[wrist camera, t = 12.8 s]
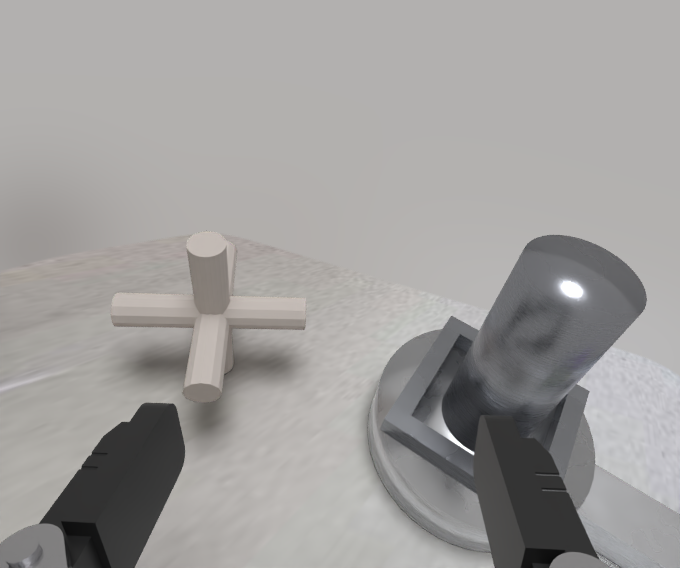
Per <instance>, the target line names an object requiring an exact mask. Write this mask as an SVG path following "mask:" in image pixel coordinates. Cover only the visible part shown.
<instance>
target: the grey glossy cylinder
mask: <svg viewBox="0 0 680 568" xmlns="http://www.w3.org/2000/svg"><path fill="white" fill-rule="evenodd" d="M646 301H647V298H646V292H645V289H644V287H643V284H642V282H641V281H640V279H639V278H638V276H637V275H636V274H635V272H634V271H633V270H632V269H631V268H630V267H629V266H628V265H627V264H625V263H624V262H623V261H622V260H621V259H619V258H618V257H617V256H615V255H614V254H612V253H611V252H609V251H607V250H606V249H604V248H602V247H600V246H598V245H596V244H593V243H591V242H588V241H585V240H582V239H579V238H575V237H570V236H563V235H547V236H542V237H538V238H536V239H534V240H532V241H531V242H529V243H528V244H527V245H526V247H525V248H524V250H523V252H522V254H521V255H520V257H519V259H518V261H517V263H516V264H515V266H514V268H513V270H512V272H511V274H510V276H509V278H508V279H507V281H506V283H505V285H504V286H503V288H502V290H501V292H500V294H499V296H498V297H497V299H496V301H495V303H494V305H493V307H492V309H491V310H490V312H489V314H488V316H487V317H486V319H485V321H484V323H483V325H482V327H481V328H480V330H479V332H478V334H477V336H476V337H475V339H474V341H473V343H472V345H471V347H470V348H469V350H468V352H467V354H466V356H465V358H464V359H463V361H462V363H461V365H460V367H459V368H458V370H457V372H456V374H455V376H454V378H453V379H452V381H451V383H450V385H449V387H448V389H447V390H446V392H445V394H444V396H443V400H442V416H443V419H444V422H445V424H446V426H447V428H448V430H449V431H450V433H451V434H452V435H453V436H454V438H455V439H456V440H457V441H458V442H459V443H461V444H462V445H463V446H465V447H466V448H468V449H469V450H471V451H473V452H475V446H476V439H477V432H478V425H479V419H480V416H481V415H495V416H512V417H513V419H514V421H515V423H516V426H517V428H518V431H519V433H520V436H521V438H527V437H528V436H529V435H530V434H531V433H532V432H533V430H534V429H535V428H536V427H537V426H538V425H539V424H540V423H541V422H542V421H543V420H544V419H545V417H546V416H547V415H548V414H549V413H550V412H551V411H552V410H553V409H554V408H555V407H556V405H557V404H558V403H559V402H560V401H561V400H562V399H563V398H564V397H565V396H566V395H567V394H568V392H569V391H570V390H571V389H572V388H573V387H574V386H575V385H576V384H577V383H578V382H579V380H580V379H581V378H582V377H583V376H584V375H585V374H586V373H587V372H588V371H589V370H590V369H591V367H592V366H593V365H594V364H595V363H596V362H597V361H598V360H599V359H600V358H601V357H602V356H603V354H604V353H605V352H606V351H607V350H608V349H609V348H610V347H611V346H612V345H613V343H614V342H615V341H616V340H617V339H618V338H619V337H620V336H621V335H622V334H623V333H624V332H625V330H626V329H627V328H628V327H629V326H630V325H631V324H632V323H633V322H634V321H635V319H636V318H637V317H638V316H639V315H640V314H641V313H642V312H643V310H644V309H645V306H646Z"/></svg>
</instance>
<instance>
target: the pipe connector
mask: <svg viewBox="0 0 680 568" xmlns="http://www.w3.org/2000/svg"><path fill="white" fill-rule="evenodd" d="M186 247H187V254H188V260H189V267H190V274H191V281H192V287H193V294H194V295H187V294H151V293H115V295H114V297H113V300H112V304H111V319H112V323H113V325H114V326H121V327H178V328H194V329H193V335H192V341H191V347H190V352H189V358H188V364H187V369H186V375H185V381H184V387H183V392H182V394H183V395H184V396H185V397H186V398H187V399H189V400H191V401H194V402H202V403H206V402H213V401H215V400H217V399H219V398H220V396H221V394H222V388H223V378H224V374H226V373H228V372H229V371H230V370H231V369H232V367H233V365H234V356H233V341H232V328H235V329H292V330H305V324H306V298H294V297H258V296H233V287H234V278H235V268H236V259H237V249H236V246H235V245H234V244H233V243H231V242H230V241H227V240H225V238H224V237H223V236H222V235H220V234H218V233H215V232H210V231H204V232H199V233H196V234H194V235H192V236H191V237H190V238H189V239H188V241H187V243H186Z"/></svg>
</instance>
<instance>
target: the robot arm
mask: <svg viewBox="0 0 680 568" xmlns="http://www.w3.org/2000/svg"><path fill="white" fill-rule="evenodd" d="M184 458H185V446H184V441H183V436H182V432H181V427H180V422H179V418H178V413H177V409H176V406H175V405H174V404H167V403H144V404H142V405H141V406H140V408H139V409H138V411H137V412H136V413H135V415H134V416H133V418H132V419H131V421H130V422H121V423H120V424H119V425H117V426H116V427H115V428H114V429H112V430H111V431H110V432H108V433H107V434H106V435H104V436H103V438H102V439H101V441H100V442H99V443H98V445H97V446H96V447H95V449H94V450H93V451H92V455H91V456H89V457H88V458H87V459H86V461H85V462H84V464H83V465H82V468H81V470H78V472H77V473H76V474H75V476H74V477H73V478H72V480H71V481H70V482H69V484H68V485H67V487H66V488H65V489H64V491H63V492H62V493H61V495H60V496H59V497H58V499H57V500H56V501H55V503H54V504H53V505H52V507H51V508H50V510H49V511H48V512H47V514H46V515H45V516H44V518H43V519H42V520H41V522H40V523H39V524H36V525H33V526H29V527H27V528H24V529H22V530H20V531H18V532H16V533H14V534H13V535H11V536H10V537H8V538H7V539H5V540H4V541H3V542H2V543H1V544H0V568H135V565H136V563H137V561H138V559H139V557H140V555H141V553H142V551H143V549H144V547H145V545H146V543H147V541H148V539H149V536H150V534H151V532H152V530H153V528H154V526H155V524H156V522H157V520H158V518H159V516H160V514H161V512H162V510H163V507H164V505H165V503H166V501H167V499H168V497H169V495H170V493H171V491H172V489H173V487H174V485H175V483H176V481H177V478H178V476H179V474H180V472H181V470H182V467H183V463H184ZM473 473H474V482H475V487H476V491H477V495H478V499H479V504H480V508H481V512H482V516H483V520H484V525H485V529H486V533H487V537H488V541H489V545H490V550H491V554H492V558H493V562H494V566H495V568H611V567H609V566H608V565H607V564H605V563H604V562H602V561H601V560H600V559H599V558H598V556H597V554H596V552H595V550H594V548H593V546H592V544H591V541H590V539H589V537H588V535H587V533H586V530H585V528H584V526H583V524H582V522H581V519H580V517H579V515H578V513H577V511H576V508H575V506H574V504H573V502H572V500H571V497H570V495H569V493H567V490H566V486H565V484H564V482H563V480H562V478H561V477H560V475H559V471H558V469H557V467H556V464H555V462H554V460H553V458H552V456H551V454H550V453H549V452H548V451H547V450H546V449H545V448H544V447H543V446H542V445H541V444H540V443H539V442H538V441H537V440H536V439H535V438H521V436H520V433H519V431H518V428H517V426H516V423H515V421H514V419H513V417H512V416H495V415H481V416H480V419H479V425H478V432H477V439H476V446H475V452H474V460H473Z"/></svg>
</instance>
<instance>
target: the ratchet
mask: <svg viewBox="0 0 680 568" xmlns="http://www.w3.org/2000/svg"><path fill="white" fill-rule="evenodd" d="M478 332H479V331H478V330H477V329H475V328H473V327H471V326H469V325H467V324H466V323H464V322H462V321H460V320H458V319H456V318H455V317H453V316H451V317H450V319H449V320H448V322H447V323H446V325H445V326H444V328H443V329H441V330H435V331H431V332H427V333H424V334H422V335H419V336H417V337H415V338H413V339H412V340H410V341H408V342H407V343H405V344H404V345H403V346H402V347H401V348H399V349H398V350H397V351H396V353H395V354H394V355H393V356H392V357H391V359H390V360H389V362H388V363H387V365H386V367H385V369H384V371H383V374H382V376H381V379H380V382H379V384H378V387H377V390H376V393H375V396H374V398H373V401H372V404H371V408H370V412H369V418H368V441H369V446H370V452H371V456H372V459H373V462H374V465H375V468H376V470H377V472H378V474H379V476H380V479H381V481H382V482H383V484H384V486H385V487H386V489H387V491H388V492H389V494H390V495H391V496H392V498H393V499H394V500H395V502H396V503H397V504H398V505H399V507H400V508H401V509H402V510H403V511H404V512H405V513H406V514H407V515H408V516H409V517H410V518H411V519H412V520H414V521H415V522H416V523H417V524H419V525H420V526H421V527H422V528H424V529H425V530H427V531H428V532H430V533H432V534H433V535H435V536H436V537H438V538H440V539H442V540H444V541H446V542H449V543H451V544H453V545H456V546H459V547H462V548H465V549H469V550H475V551H481V552H491V550H490V545H489V541H488V537H487V533H486V529H485V525H484V520H483V516H482V512H481V508H480V504H479V499H478V495H477V491H476V487H475V482H474V473H473V460H474V452H473V451H471V450H469V449H468V448H466V447H465V446H463V445H462V444H461V443H459V442H458V441H457V440H456V439H455V438H454V436H453V435H452V434H451V433H450V431H449V430H448V428H447V426H446V424H445V422H444V419H443V416H442V400H443V396H444V394H445V392H446V390H447V389H448V387H449V385H450V383H451V381H452V379H453V378H454V376H455V374H456V372H457V370H458V368H459V367H460V365H461V363H462V361H463V359H464V358H465V356H466V354H467V352H468V350H469V348H470V347H471V345H472V343H473V341H474V339H475V337H476V336H477V334H478ZM588 394H589V391H588V390H586V389H584V388H583V387H581V386H579V385H577V384H576V385H575V386H574V387H573V388H572V389H571V390H570V391H569V392H568V394H567V395H566V396H565V397H564V398H563V399H562V400H561V401H560V402H559V403H558V404H557V405H556V407H555V408H554V409H553V410H552V411H551V412H550V413H549V414H548V415H547V416H546V417H545V419H544V420H543V421H542V422H541V423H540V424H539V425H538V426H537V427H536V428H535V429H534V430H533V432H532V433H531V434H530V435H529V436H528V437H527V438H535V439H536V440H537V441H538V442H539V443H540V444H541V445H542V446H543V447H544V448H545V449H546V450H547V451H548V452H549V453H550V454H551V456H552V458H553V460H554V462H555V464H556V467H557V469H558V471H559V475H560V477H561V478H562V480H563V482H564V484H565V486H566V490H567V493H569V495H570V497H571V500H572V502H573V504H574V506H575V508H576V511H577V513H578V515H579V517H580V519H581V522H582V524H583V526H584V528H585V530H586V533H587V535H588V537H589V539H590V541H591V544H592V546H593V548H594V550H595V551H597V552H598V553H600V554H601V555H603V556H604V557H606V558H607V559H609V560H611V561H612V562H614V563H615V564H617V565H618V566H620V567H621V568H680V514H678V513H677V512H675V511H673V510H672V509H670V508H668V507H666V506H665V505H663V504H661V503H660V502H658V501H656V500H655V499H653V498H651V497H650V496H648V495H646V494H645V493H643V492H641V491H639V490H638V489H636V488H634V487H633V486H631V485H629V484H628V483H626V482H624V481H623V480H621V479H619V478H618V477H616V476H614V475H613V474H611V473H609V472H607V471H606V470H604V469H602V468H601V467H599V466H597V465H596V464H595V451H594V444H593V439H592V435H591V432H590V428H589V425H588V423H587V420H586V418H585V416H584V413H583V412H584V408H585V405H586V401H587V398H588Z"/></svg>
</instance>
